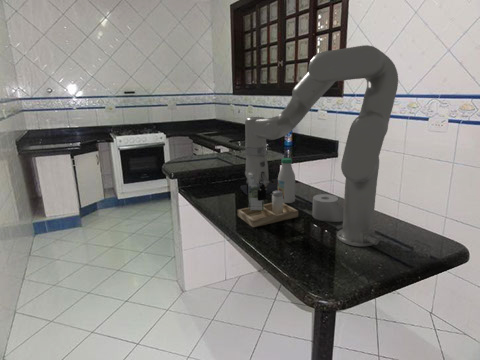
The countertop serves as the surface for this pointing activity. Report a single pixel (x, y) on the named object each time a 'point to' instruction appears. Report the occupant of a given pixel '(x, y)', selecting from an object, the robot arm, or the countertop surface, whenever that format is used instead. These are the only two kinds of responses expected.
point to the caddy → (266, 215)
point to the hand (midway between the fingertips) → (256, 196)
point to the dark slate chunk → (270, 188)
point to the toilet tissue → (327, 208)
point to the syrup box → (254, 195)
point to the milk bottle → (287, 181)
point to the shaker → (277, 202)
